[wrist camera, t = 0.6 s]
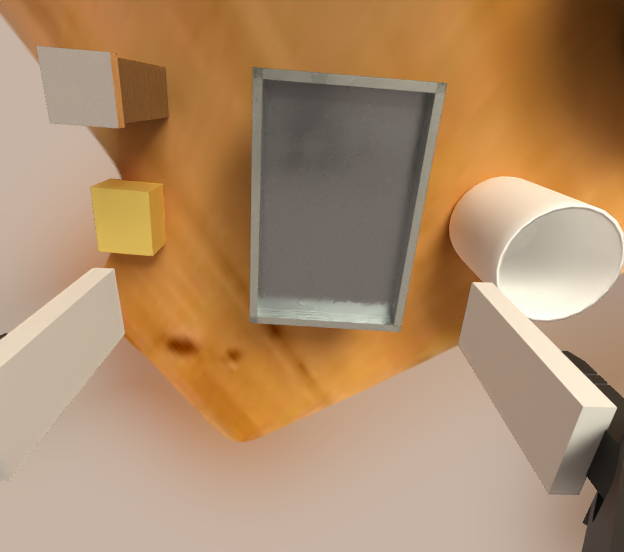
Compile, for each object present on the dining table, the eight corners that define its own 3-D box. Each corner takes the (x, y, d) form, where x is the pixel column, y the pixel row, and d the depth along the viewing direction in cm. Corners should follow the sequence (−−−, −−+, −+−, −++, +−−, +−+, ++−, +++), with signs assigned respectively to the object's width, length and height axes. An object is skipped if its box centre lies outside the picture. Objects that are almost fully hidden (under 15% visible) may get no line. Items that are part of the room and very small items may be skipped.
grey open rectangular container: (264, 75, 35) (244, 66, 25) (412, 87, 36) (455, 83, 25) (259, 266, 42) (243, 322, 32) (382, 274, 43) (406, 332, 32)
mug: (437, 192, 39) (485, 228, 29) (564, 151, 38) (664, 172, 27) (455, 276, 43) (504, 335, 32) (571, 242, 42) (662, 292, 31)
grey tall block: (115, 60, 35) (36, 46, 25) (167, 65, 35) (109, 52, 25) (121, 115, 36) (49, 123, 26) (170, 119, 37) (118, 128, 27)
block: (111, 178, 39) (90, 187, 35) (163, 183, 39) (148, 192, 35) (117, 237, 41) (98, 251, 38) (166, 242, 41) (153, 256, 38)
